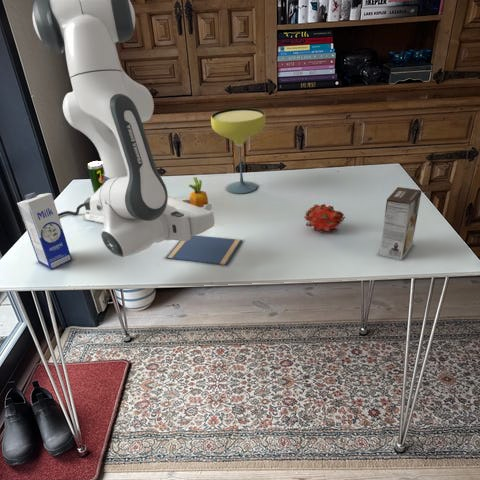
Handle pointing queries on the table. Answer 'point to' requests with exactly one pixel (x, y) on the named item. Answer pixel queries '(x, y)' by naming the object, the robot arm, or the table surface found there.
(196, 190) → the carrot
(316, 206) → the dragon fruit
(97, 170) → the beer can
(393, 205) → the coffee box
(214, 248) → the napkin
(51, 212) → the milk carton
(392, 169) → the table surface
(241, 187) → the cocktail glass
